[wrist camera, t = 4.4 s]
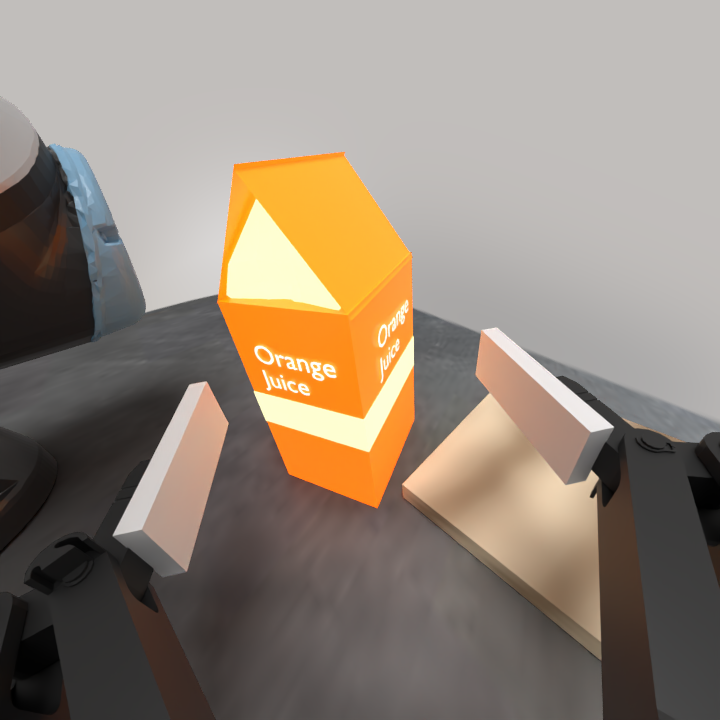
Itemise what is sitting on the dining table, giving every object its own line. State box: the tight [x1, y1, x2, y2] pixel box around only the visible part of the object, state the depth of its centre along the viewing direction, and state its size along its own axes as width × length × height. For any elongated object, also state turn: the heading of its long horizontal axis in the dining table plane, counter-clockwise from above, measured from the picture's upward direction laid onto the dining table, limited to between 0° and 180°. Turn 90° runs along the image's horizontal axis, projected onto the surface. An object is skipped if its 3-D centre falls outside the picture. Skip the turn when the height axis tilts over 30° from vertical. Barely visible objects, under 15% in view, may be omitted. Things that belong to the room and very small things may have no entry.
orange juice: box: [217, 152, 414, 508], centre depth 19 cm, size 8×9×20 cm
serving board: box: [402, 393, 684, 661], centre depth 17 cm, size 20×14×2 cm
